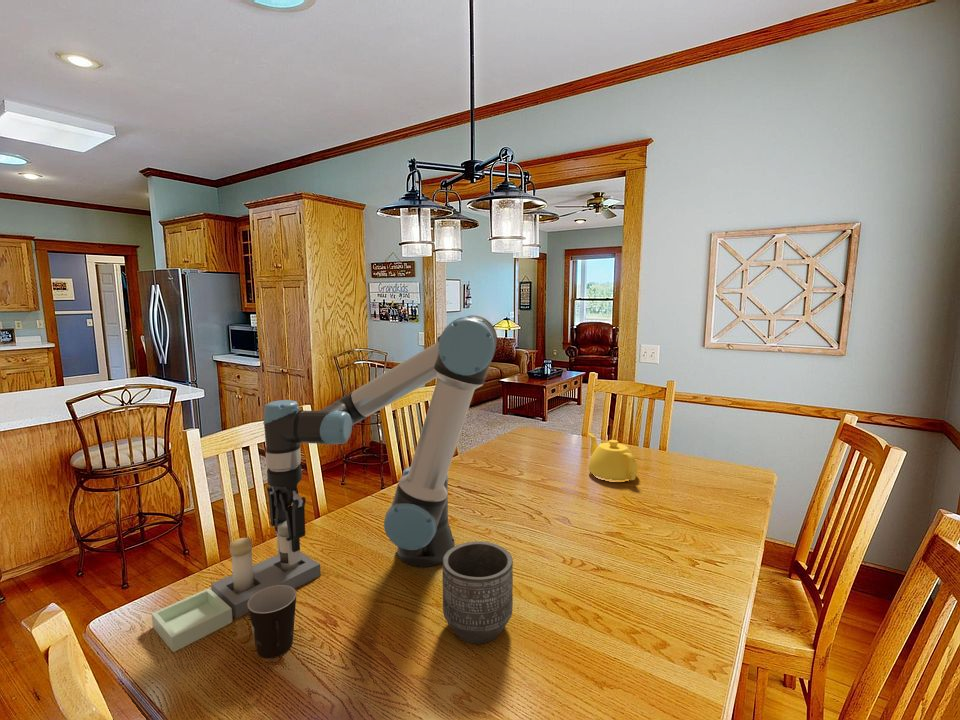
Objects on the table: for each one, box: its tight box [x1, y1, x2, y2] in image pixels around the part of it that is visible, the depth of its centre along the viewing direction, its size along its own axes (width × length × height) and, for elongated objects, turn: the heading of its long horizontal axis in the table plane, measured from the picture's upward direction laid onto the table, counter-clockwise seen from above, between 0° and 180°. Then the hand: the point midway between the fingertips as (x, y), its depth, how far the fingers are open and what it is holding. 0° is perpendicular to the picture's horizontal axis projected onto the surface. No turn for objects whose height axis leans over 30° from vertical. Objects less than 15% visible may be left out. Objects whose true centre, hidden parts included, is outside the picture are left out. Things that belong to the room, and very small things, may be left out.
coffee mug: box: [247, 585, 297, 659], centre depth 90 cm, size 12×9×10 cm
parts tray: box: [151, 587, 233, 653], centre depth 98 cm, size 11×11×3 cm
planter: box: [442, 540, 514, 645], centre depth 97 cm, size 14×14×15 cm
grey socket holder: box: [210, 537, 322, 619], centre depth 111 cm, size 12×20×13 cm, turn 141°
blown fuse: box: [278, 521, 299, 572], centre depth 115 cm, size 4×4×13 cm
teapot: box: [587, 432, 638, 481], centre depth 180 cm, size 25×18×14 cm
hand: (289, 558), depth 115 cm, fingers closed on blown fuse, 4 cm apart
